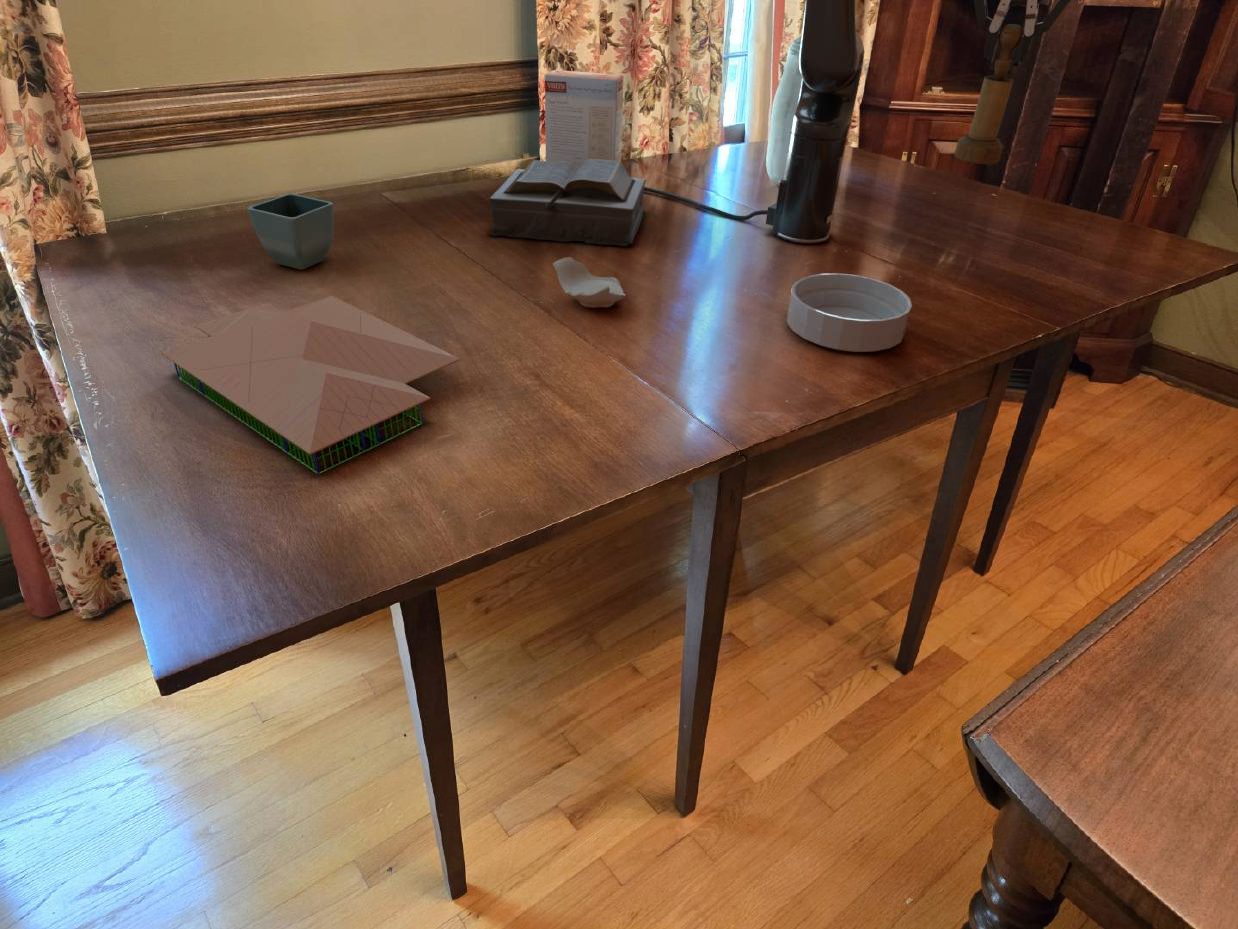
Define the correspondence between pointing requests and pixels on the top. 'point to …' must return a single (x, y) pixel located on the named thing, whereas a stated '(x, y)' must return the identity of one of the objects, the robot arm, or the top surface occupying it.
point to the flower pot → (294, 229)
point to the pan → (848, 312)
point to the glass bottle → (783, 114)
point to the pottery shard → (587, 284)
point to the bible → (570, 203)
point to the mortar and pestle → (991, 106)
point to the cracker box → (583, 116)
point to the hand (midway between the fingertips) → (1002, 62)
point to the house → (310, 372)
